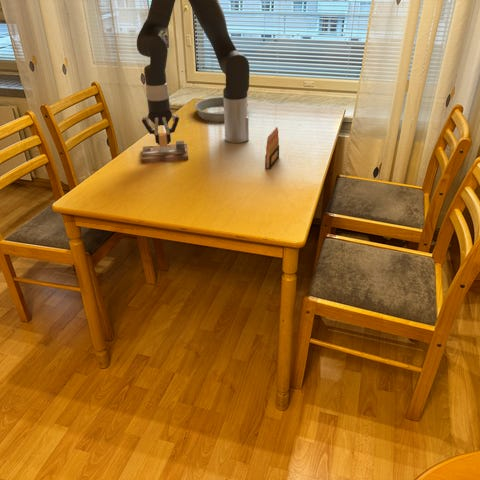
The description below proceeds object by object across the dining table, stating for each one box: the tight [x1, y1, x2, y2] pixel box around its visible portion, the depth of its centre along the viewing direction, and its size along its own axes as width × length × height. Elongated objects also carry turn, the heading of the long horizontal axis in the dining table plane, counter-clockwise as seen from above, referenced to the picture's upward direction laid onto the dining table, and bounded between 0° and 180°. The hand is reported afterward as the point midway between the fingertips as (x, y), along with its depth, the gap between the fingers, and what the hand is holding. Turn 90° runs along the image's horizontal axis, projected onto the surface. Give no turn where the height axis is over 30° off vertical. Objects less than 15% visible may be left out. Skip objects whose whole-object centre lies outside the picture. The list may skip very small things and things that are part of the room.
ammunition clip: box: [264, 127, 280, 170], centre depth 162 cm, size 11×2×12 cm, turn 158°
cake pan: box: [194, 96, 249, 123], centre depth 210 cm, size 25×25×4 cm
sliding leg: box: [159, 132, 169, 153], centre depth 170 cm, size 3×7×7 cm, turn 7°
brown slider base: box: [141, 140, 189, 164], centre depth 171 cm, size 17×12×6 cm
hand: (163, 143), depth 168 cm, fingers closed on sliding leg, 3 cm apart
